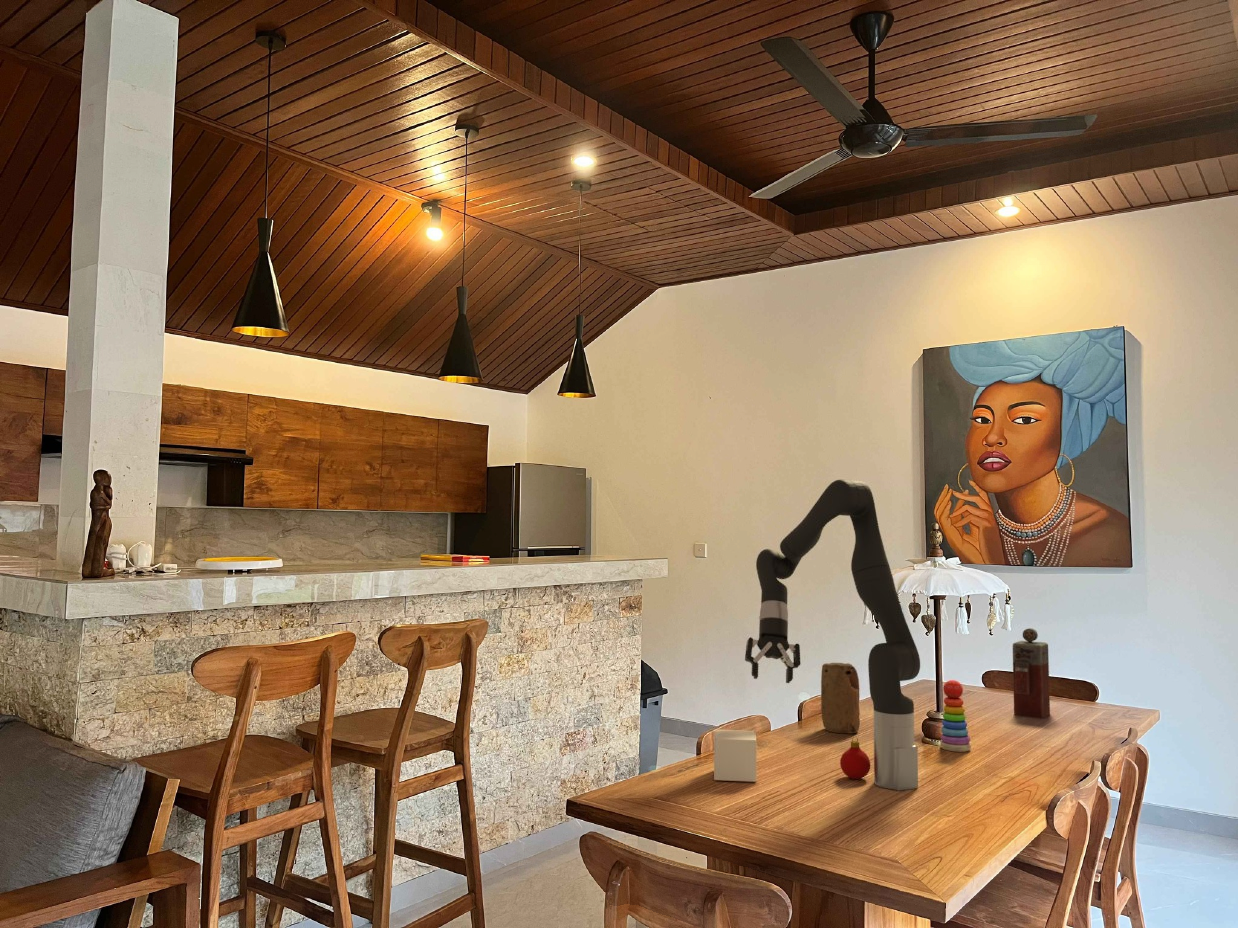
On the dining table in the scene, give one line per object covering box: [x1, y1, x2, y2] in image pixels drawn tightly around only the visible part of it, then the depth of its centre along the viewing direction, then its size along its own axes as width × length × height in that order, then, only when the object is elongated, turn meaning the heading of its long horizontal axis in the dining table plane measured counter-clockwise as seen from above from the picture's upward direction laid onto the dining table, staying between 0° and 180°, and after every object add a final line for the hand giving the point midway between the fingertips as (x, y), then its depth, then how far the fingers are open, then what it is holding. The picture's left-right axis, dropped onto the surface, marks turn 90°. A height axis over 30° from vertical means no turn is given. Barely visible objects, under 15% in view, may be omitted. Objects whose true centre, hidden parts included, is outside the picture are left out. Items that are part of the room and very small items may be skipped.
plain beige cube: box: [713, 729, 758, 782], centre depth 217 cm, size 10×10×10 cm
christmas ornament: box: [839, 736, 871, 780], centre depth 217 cm, size 7×7×10 cm
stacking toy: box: [939, 679, 972, 753], centre depth 247 cm, size 8×8×19 cm
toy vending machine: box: [1012, 627, 1051, 719], centre depth 294 cm, size 9×11×28 cm
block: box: [820, 662, 861, 735], centre depth 268 cm, size 11×8×20 cm
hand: (772, 680), depth 233 cm, fingers open, 8 cm apart
